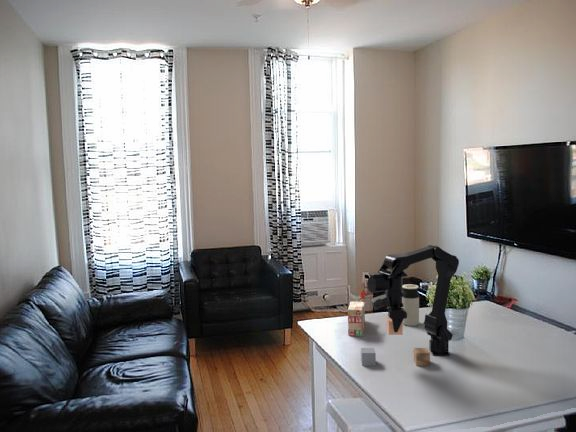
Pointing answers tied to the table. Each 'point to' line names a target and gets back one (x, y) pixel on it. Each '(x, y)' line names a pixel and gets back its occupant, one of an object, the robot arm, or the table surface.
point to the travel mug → (411, 304)
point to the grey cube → (368, 357)
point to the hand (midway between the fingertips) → (394, 329)
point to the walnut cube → (421, 357)
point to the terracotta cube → (391, 329)
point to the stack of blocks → (356, 318)
